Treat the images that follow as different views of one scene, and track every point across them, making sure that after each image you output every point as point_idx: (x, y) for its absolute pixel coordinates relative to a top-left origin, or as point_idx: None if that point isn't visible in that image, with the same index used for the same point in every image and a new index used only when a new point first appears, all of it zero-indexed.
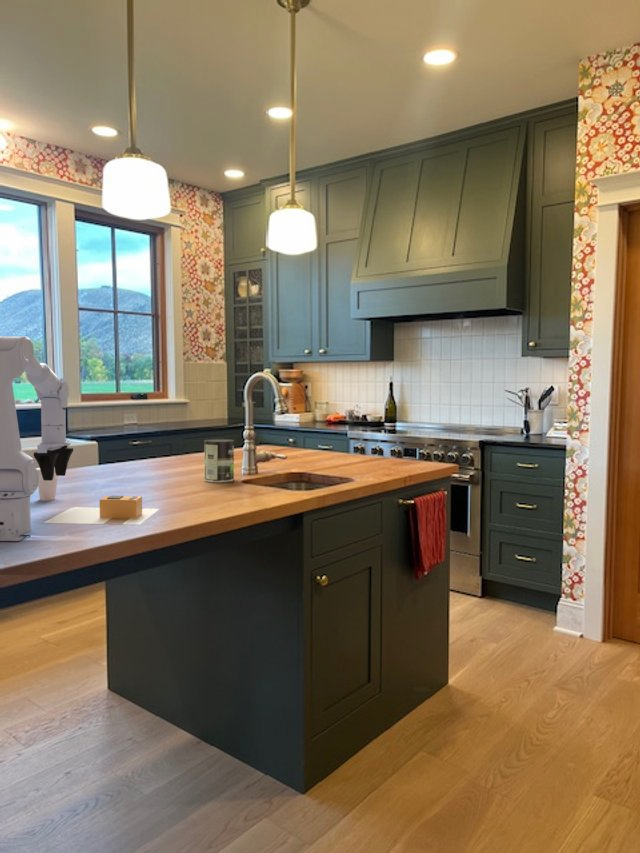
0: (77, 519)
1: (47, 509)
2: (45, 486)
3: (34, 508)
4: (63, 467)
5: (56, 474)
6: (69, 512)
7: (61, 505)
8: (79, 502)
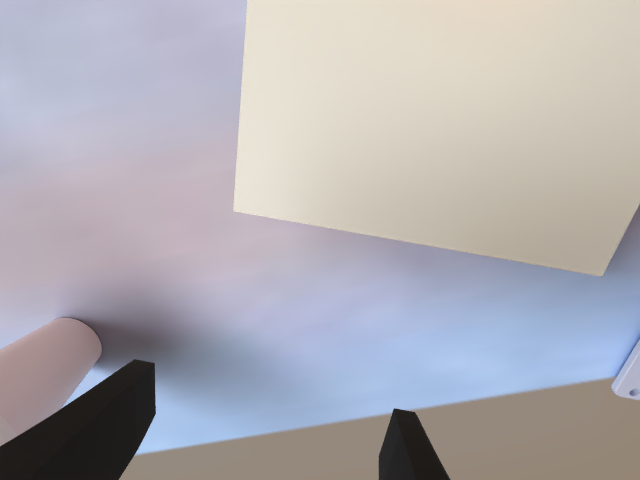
0: (575, 116)
1: (208, 318)
2: (45, 406)
3: (191, 366)
4: (103, 430)
5: (150, 421)
6: (369, 200)
7: (118, 279)
8: (36, 214)
